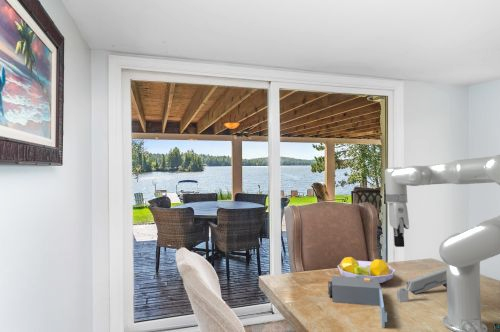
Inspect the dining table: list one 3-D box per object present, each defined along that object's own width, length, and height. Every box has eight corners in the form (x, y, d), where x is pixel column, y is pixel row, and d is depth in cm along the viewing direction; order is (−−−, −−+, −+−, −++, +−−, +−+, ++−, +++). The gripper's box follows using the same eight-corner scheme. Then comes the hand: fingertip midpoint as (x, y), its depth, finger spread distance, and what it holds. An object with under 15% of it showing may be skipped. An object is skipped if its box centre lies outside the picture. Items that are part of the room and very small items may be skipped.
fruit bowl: (357, 268, 175) (357, 248, 175) (406, 281, 153) (405, 257, 153) (324, 279, 158) (323, 256, 159) (373, 295, 136) (372, 268, 137)
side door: (384, 305, 124) (383, 288, 124) (387, 327, 107) (386, 307, 107) (379, 305, 125) (378, 288, 125) (381, 327, 107) (381, 307, 107)
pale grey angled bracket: (399, 302, 128) (399, 282, 129) (397, 300, 130) (396, 281, 130) (415, 300, 130) (414, 281, 130) (412, 299, 131) (411, 279, 132)
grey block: (381, 306, 125) (381, 286, 125) (328, 301, 130) (328, 282, 130) (377, 294, 136) (377, 276, 137) (328, 291, 141) (328, 273, 142)
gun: (463, 288, 140) (458, 266, 140) (414, 305, 136) (408, 282, 136) (459, 286, 142) (453, 264, 142) (410, 302, 138) (405, 280, 138)
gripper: (413, 200, 115) (416, 250, 114) (401, 197, 129) (403, 242, 128) (391, 200, 116) (394, 250, 115) (382, 198, 131) (384, 242, 130)
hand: (399, 246), depth 122 cm, fingers closed
